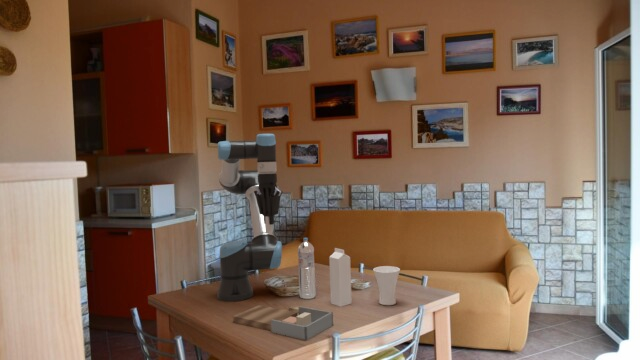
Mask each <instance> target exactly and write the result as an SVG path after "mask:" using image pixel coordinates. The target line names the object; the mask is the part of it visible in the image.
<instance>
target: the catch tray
mask: <svg viewBox="0 0 640 360" xmlns="http://www.w3.org/2000/svg"><path fill="white" fill-rule="evenodd" d="M297 307H298V308H299V313H298V315H300V314H302V313H304V312H306V313H311V324H309V325H307V326H301V325H297V324H292V323H287V322H282V321H278V320H273V319H272V320H271V329H272V331H271V333H272V334H276V333H277V334H276V335H282V336H285V335H286V337H289V338H294V339H300V340H304V341H308V340H309V339H312V338H314V337H315V336H317V335H319V334H320V333H321V332H322V333H323V332H324V331H325V330H327V329H329V328H331V327H332V326H334V313H333V311H328V310H322V309H318V308H311V307H305V306H301V305H299V306H297Z"/></svg>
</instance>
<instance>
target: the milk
mask: <svg viewBox="0 0 640 360" xmlns="http://www.w3.org/2000/svg"><path fill="white" fill-rule="evenodd" d="M328 260H329V287H330V288H329V289H330V303H331V304H332V305H335V306H337V307H340V308H341V307H345V306H348V305H352V301H353V300H352V277H351V274H352V272H351V271H352V270H351V256H349V255H348V254H346V253H345V249H342V248H337V247H334V252H333V253H332V254H331V255H330V256H329V258H328Z"/></svg>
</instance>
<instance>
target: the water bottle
mask: <svg viewBox="0 0 640 360" xmlns="http://www.w3.org/2000/svg"><path fill="white" fill-rule="evenodd" d="M308 240H309V238H308V237H303V240H302V241H303V242H301V243H300V244H299V245H298V247H297V252H298V253H297V255H298V256H297V257H298V259H297V260H298V286H299V287H298V289H299V291H298V292H299V293H298V294H299V298H300V299H303V300H312V299H314V298H316V275H315V274H316V269H315V267H316V266H315V247H314V246H313V244H312V243H311V242H309V241H308Z"/></svg>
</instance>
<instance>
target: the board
mask: <svg viewBox="0 0 640 360" xmlns="http://www.w3.org/2000/svg"><path fill="white" fill-rule="evenodd" d="M290 316H291V317H297V316H298V313H297V312H293V311H289V309H288V310H287V309H282V308H276V307H271V306H266V305H260V304H258V305H256V306H254V307H252V308H249V309H247V310H244V311H242V312H240V313H237V314H234V315H233V316H232V318H233V320H232V321H233V323H235V324H238V325H244V326H247V327H252V328H256V329H261V330H265V331H266V330H267V331H269V332H272V329H271V320H272V319H273V320H278V321H282V320H284V319H286V318H288V317H290Z"/></svg>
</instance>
